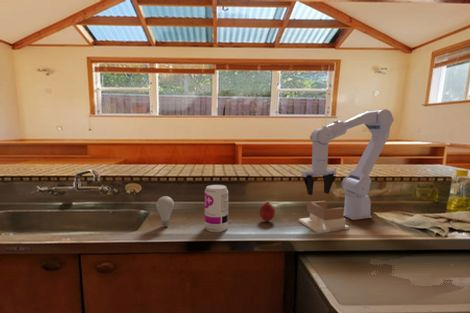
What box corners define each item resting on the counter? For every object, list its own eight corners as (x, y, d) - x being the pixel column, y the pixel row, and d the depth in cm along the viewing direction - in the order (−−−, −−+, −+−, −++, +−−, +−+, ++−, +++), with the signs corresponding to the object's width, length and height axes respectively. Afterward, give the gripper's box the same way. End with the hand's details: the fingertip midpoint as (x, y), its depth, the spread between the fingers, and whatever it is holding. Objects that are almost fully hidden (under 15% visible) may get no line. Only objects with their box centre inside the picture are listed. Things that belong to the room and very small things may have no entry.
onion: (274, 225, 94) (274, 203, 93) (258, 223, 95) (258, 202, 94) (274, 219, 100) (275, 199, 99) (260, 218, 101) (260, 198, 100)
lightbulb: (177, 224, 94) (177, 195, 93) (168, 230, 88) (167, 199, 87) (163, 222, 96) (162, 193, 95) (153, 228, 90) (152, 197, 89)
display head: (327, 218, 102) (327, 208, 102) (349, 229, 91) (349, 218, 90) (298, 221, 98) (299, 211, 98) (317, 233, 87) (318, 221, 86)
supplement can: (210, 234, 85) (210, 190, 83) (201, 226, 92) (201, 185, 91) (231, 230, 89) (232, 188, 87) (221, 222, 96) (222, 183, 94)
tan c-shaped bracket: (324, 209, 100) (325, 200, 100) (343, 218, 91) (343, 208, 90) (307, 211, 98) (307, 202, 98) (324, 220, 88) (324, 210, 88)
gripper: (328, 158, 105) (327, 190, 107) (297, 158, 101) (296, 192, 102) (340, 159, 99) (338, 194, 100) (308, 161, 94) (306, 197, 96)
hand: (318, 193), depth 101 cm, fingers open, 7 cm apart
